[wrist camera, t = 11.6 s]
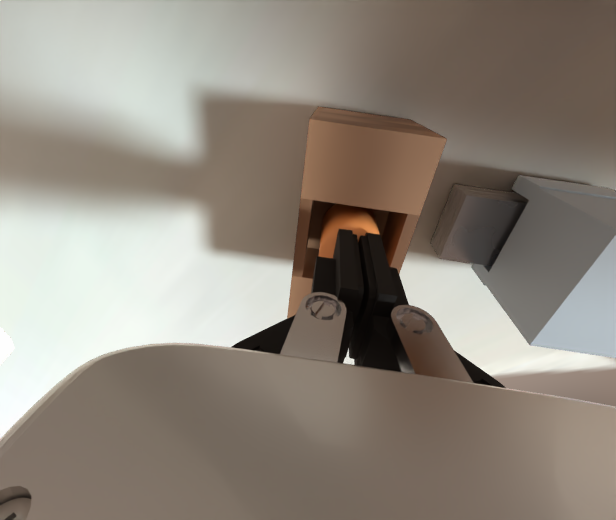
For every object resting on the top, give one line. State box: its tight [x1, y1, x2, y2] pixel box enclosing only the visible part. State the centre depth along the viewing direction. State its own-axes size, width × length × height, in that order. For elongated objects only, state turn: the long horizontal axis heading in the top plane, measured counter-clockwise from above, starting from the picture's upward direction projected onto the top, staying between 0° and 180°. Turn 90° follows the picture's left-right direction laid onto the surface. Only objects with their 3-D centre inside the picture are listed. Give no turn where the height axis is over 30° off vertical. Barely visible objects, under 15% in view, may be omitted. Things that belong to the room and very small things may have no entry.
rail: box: [431, 184, 529, 266], centre depth 17 cm, size 15×4×2 cm, turn 83°
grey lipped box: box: [472, 175, 616, 358], centre depth 15 cm, size 5×6×7 cm
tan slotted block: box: [287, 106, 447, 319], centre depth 16 cm, size 5×10×6 cm, turn 173°
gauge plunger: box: [319, 204, 380, 258], centre depth 14 cm, size 3×3×4 cm
